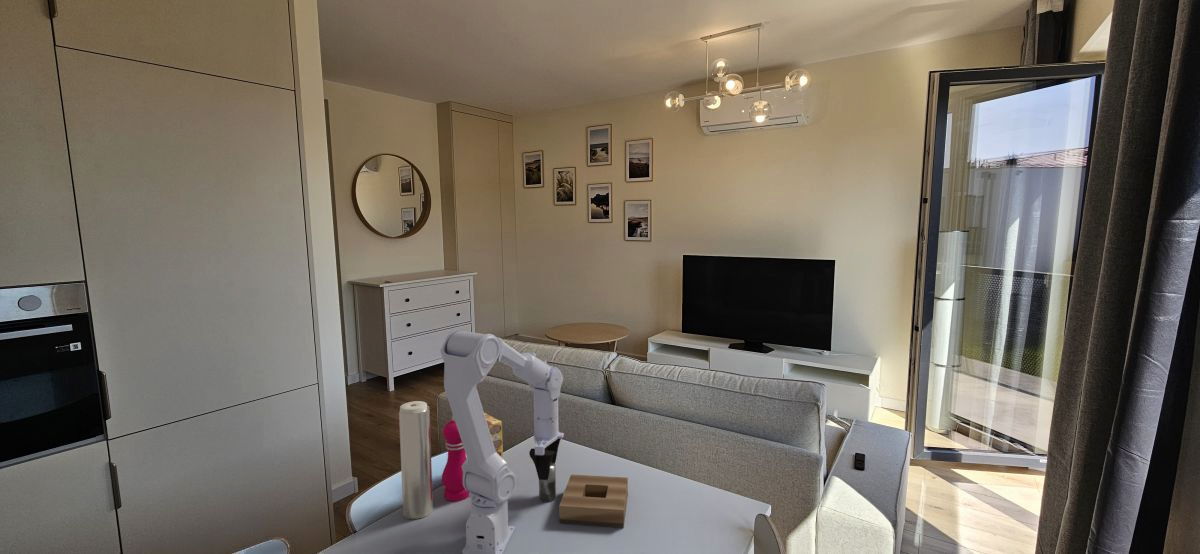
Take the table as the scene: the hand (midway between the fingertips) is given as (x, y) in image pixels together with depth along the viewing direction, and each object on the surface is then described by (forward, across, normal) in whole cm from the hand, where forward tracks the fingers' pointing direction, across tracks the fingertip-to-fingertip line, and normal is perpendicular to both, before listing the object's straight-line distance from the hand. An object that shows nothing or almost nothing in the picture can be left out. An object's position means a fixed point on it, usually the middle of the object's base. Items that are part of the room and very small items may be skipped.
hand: (547, 471), depth 114 cm
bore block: (+7, -3, -12) cm, 14 cm away
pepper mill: (+7, -1, +22) cm, 23 cm away
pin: (+7, 0, 0) cm, 7 cm away
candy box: (+7, +9, +18) cm, 21 cm away
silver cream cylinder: (+7, -9, +28) cm, 30 cm away
